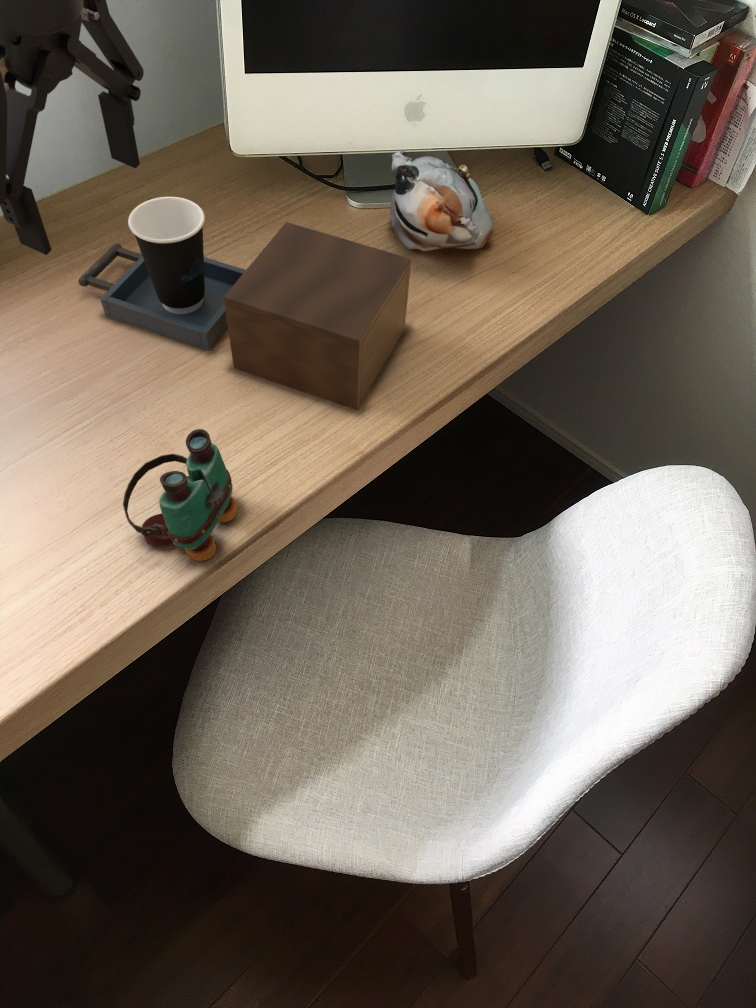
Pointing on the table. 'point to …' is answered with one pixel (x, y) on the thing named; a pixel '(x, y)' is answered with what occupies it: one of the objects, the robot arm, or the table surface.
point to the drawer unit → (318, 313)
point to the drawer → (143, 309)
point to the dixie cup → (172, 250)
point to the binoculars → (189, 499)
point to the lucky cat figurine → (437, 205)
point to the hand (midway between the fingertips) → (83, 202)
